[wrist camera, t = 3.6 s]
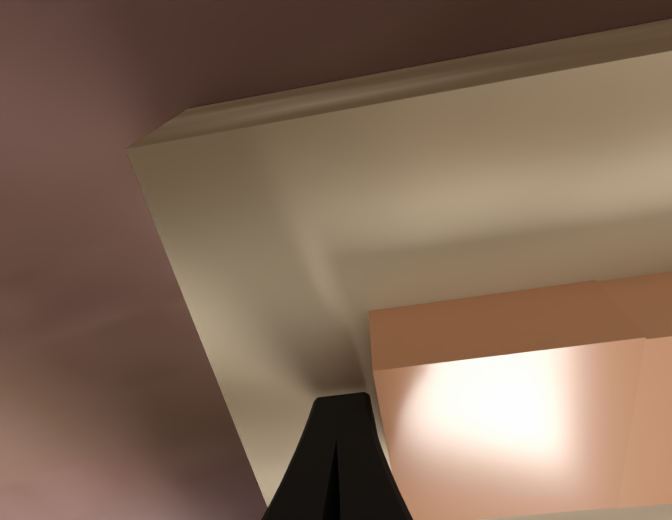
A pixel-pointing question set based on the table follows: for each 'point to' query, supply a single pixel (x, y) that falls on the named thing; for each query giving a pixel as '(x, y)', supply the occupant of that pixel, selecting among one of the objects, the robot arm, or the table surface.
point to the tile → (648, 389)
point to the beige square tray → (406, 211)
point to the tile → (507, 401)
